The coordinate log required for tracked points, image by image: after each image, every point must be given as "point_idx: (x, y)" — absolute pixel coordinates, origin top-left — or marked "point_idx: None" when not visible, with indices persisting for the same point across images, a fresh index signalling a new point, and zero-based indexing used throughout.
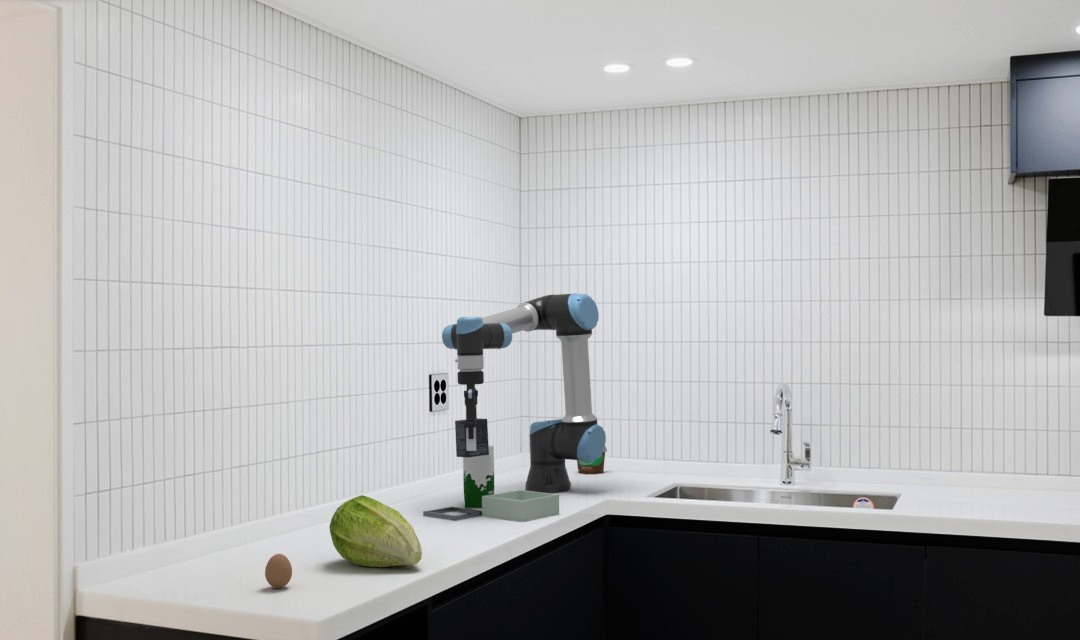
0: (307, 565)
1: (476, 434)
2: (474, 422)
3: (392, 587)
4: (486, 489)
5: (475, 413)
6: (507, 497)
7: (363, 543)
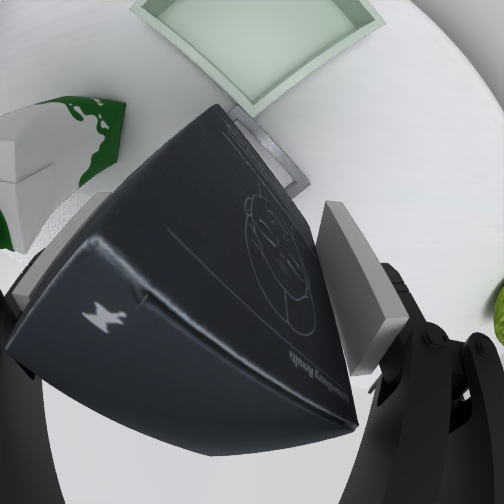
0: (482, 329)
1: (289, 257)
2: (496, 356)
3: None
4: (100, 112)
5: (2, 414)
6: (183, 39)
7: None
